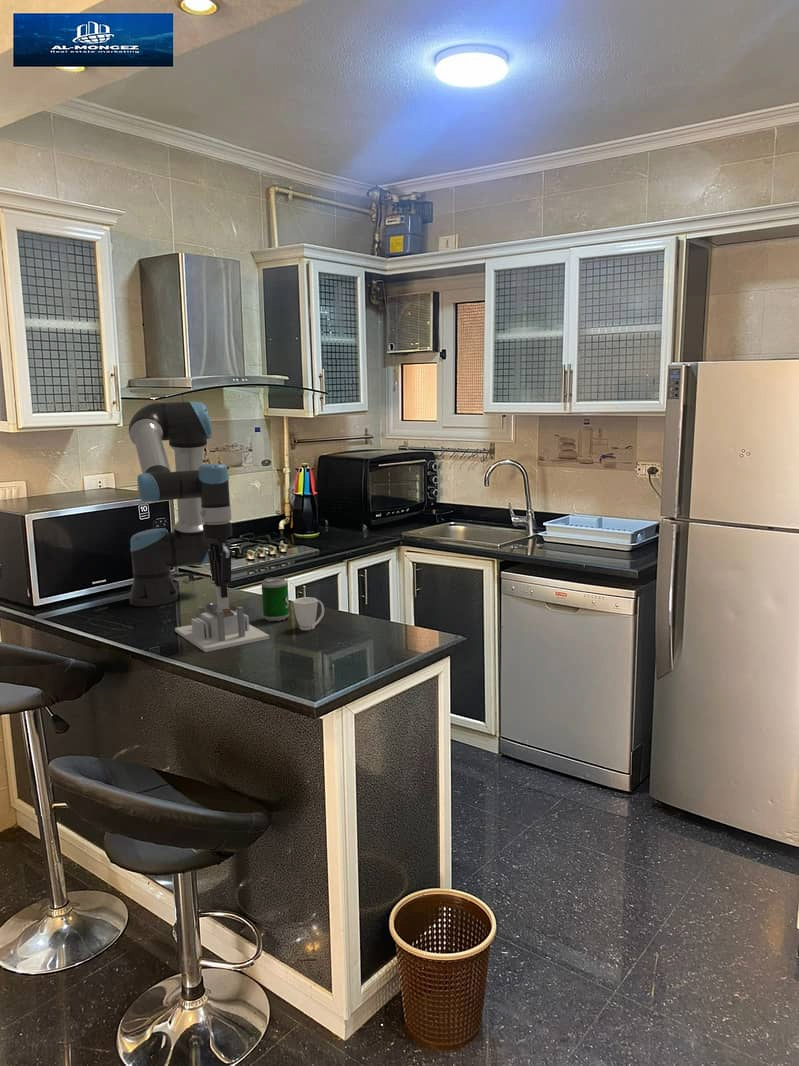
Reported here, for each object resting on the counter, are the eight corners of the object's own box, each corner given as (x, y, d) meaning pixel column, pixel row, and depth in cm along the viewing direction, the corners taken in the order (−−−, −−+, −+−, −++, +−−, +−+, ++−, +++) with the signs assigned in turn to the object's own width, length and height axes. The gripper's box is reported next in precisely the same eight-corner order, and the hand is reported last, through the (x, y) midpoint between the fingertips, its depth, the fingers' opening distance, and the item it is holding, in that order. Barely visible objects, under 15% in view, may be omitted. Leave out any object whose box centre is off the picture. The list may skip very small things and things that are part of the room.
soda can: (284, 622, 227) (282, 582, 225) (259, 622, 228) (257, 582, 226) (293, 615, 234) (290, 576, 232) (269, 615, 236) (266, 576, 234)
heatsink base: (175, 631, 222) (172, 600, 220) (235, 620, 232) (233, 590, 230) (205, 652, 202) (202, 618, 201) (269, 638, 212) (267, 606, 210)
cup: (289, 628, 221) (287, 600, 219) (316, 620, 228) (314, 593, 227) (305, 633, 216) (303, 604, 215) (332, 625, 223) (330, 597, 222)
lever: (204, 608, 221) (204, 602, 221) (214, 606, 223) (214, 600, 223) (223, 618, 210) (222, 612, 209) (233, 616, 211) (233, 610, 211)
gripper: (194, 521, 212) (201, 606, 216) (212, 526, 202) (219, 615, 205) (221, 518, 217) (227, 601, 220) (239, 523, 206) (245, 610, 209)
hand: (223, 608), depth 213 cm, fingers closed
